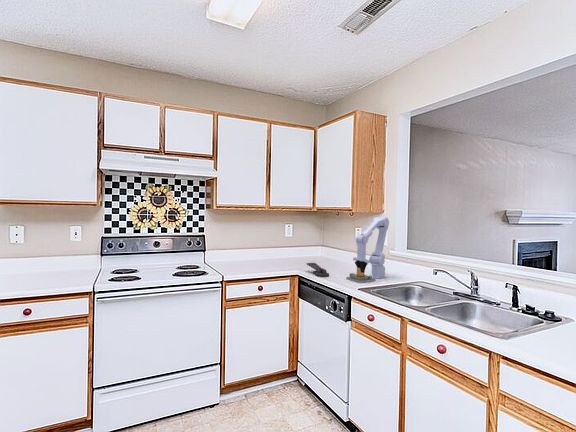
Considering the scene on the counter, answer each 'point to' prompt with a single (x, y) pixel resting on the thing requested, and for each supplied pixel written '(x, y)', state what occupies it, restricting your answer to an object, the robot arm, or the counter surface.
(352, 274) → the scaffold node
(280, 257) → the counter surface
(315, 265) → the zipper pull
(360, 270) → the wooden rectangular peg
